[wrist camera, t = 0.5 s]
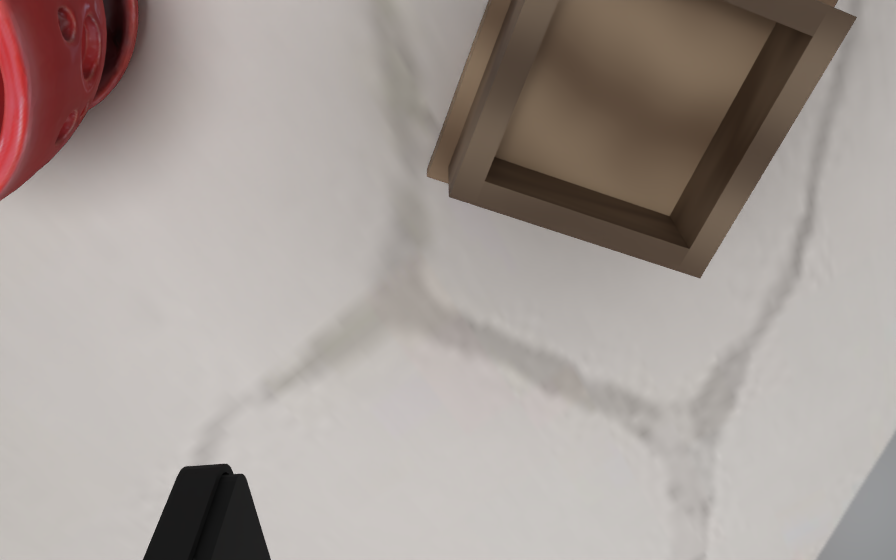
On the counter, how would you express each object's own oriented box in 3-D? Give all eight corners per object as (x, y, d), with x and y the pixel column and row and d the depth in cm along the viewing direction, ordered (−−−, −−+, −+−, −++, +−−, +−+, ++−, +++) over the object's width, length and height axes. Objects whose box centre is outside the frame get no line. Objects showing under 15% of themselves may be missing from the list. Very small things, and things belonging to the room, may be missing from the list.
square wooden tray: (539, -138, 31) (553, -135, 27) (834, -16, 33) (886, 4, 29) (427, 168, 37) (425, 206, 33) (680, 252, 40) (706, 296, 36)
